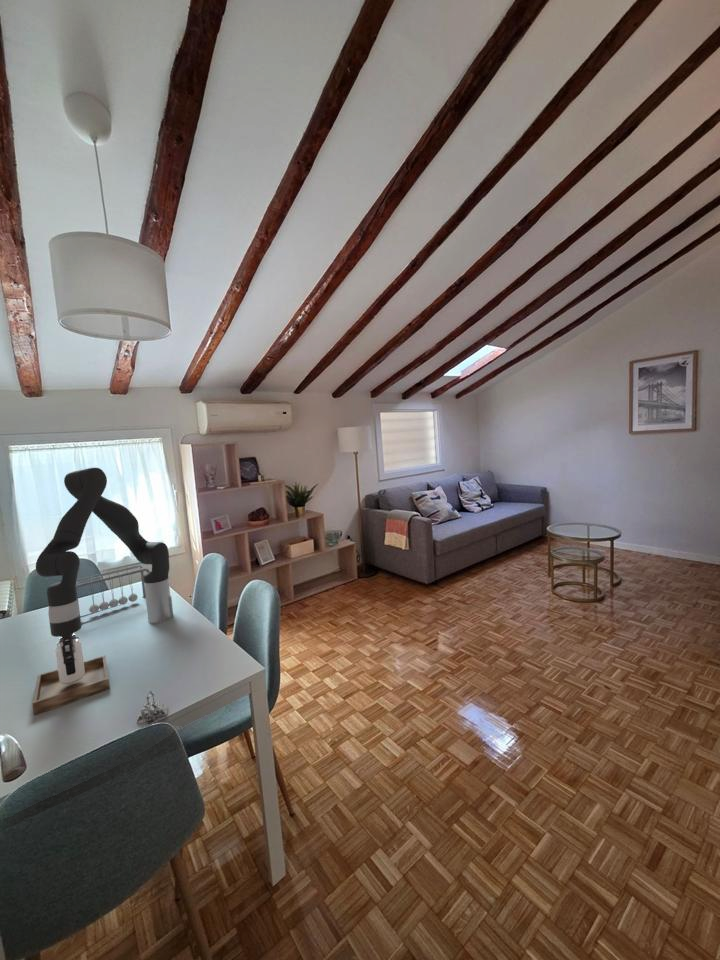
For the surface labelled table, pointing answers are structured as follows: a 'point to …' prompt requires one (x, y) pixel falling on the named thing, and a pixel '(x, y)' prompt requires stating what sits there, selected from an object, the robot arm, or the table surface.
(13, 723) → the table surface
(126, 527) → the robot arm
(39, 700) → the tray
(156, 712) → the grey jagged ornament
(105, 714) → the table surface
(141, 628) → the table surface
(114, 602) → the newton's cradle
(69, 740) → the table surface
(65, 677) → the can
